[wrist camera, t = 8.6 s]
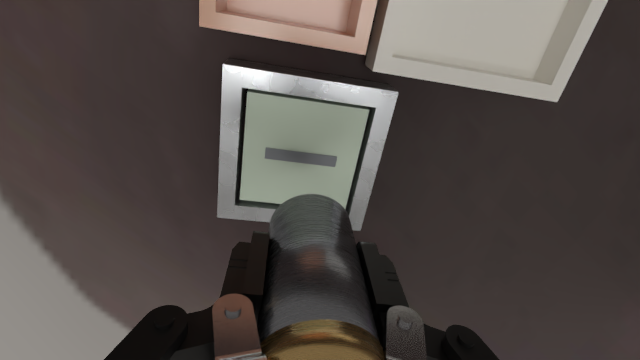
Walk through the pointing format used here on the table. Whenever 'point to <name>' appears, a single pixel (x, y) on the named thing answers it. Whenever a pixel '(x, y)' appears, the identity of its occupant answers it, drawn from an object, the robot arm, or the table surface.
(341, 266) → the cell
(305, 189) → the plate
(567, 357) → the table surface
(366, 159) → the grey square slotted tray
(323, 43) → the dish
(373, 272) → the robot arm
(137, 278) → the table surface
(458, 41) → the trough
